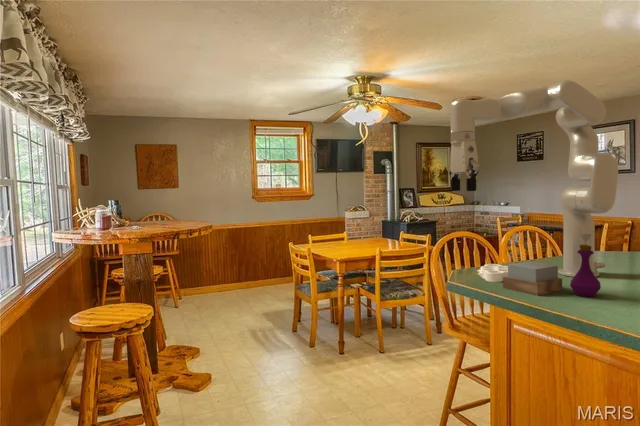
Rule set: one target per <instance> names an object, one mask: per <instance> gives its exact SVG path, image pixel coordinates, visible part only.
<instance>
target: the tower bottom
mask: <svg viewBox="0 0 640 426" xmlns="http://www.w3.org/2000/svg"><path fill="white" fill-rule="evenodd" d="M502 289H506V290H510V291H515V292H519V293H522V294H529V295H532V296H536V295H537V296H538V297H539V296H542V295H548V294H551V293H555V292H559V291H562V290H563V278H560V277H558V279H552V280H547V281H542V282H531V281H526V280H521V279H516V278H511V277H508V276H506V277H503V282H502Z"/></svg>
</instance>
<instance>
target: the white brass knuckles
mask: <svg viewBox="0 0 640 426" xmlns="http://www.w3.org/2000/svg"><path fill="white" fill-rule="evenodd" d="M476 272H478V273H477V275H478V276H480V278H481V277H482V278H481V279H484V280H485V281H486V282H492V283H503V282H502V281H503V277H506V276H508V265H502V264H497V263H486V264H484V265H482V266H480V269H478V270H476Z"/></svg>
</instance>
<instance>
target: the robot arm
mask: <svg viewBox="0 0 640 426" xmlns="http://www.w3.org/2000/svg"><path fill="white" fill-rule="evenodd" d="M449 108H450V109H449V110H450V112H449V113H450V144H451V146H450V155H449V157H450V161H449V163H450V165H448V167H447V169H448V172H449V173H448V174H449V179H450V191H451V192H458V191H461V179H460V176H461V174H465V175H466V177H467V178H466V179H465V181H466V182H465V183H466V184H465V185H466V187H465V188H466V192H475V191H476V192H477V178H478V174H479V168H480V163H479V161H478V160H479V157H478V148H477V144H476V141H475V140H476V137H475V135H476V131H475V129H476V126H479V125H483V124H488V123H493V122H498V121H503V120H511V119H517V118H521V117H523V118H524V117H527V116H531V115H532V116H533V115H536V114H541V113H546V112H550V111H551V112H552V111H554V110H557V112H556V114H555V120H556V123H557V125H558V126H559V127H560V128H561V130H563V131H564V132H565V133H566V135H567V136H568V139H569V144H570V145H569V153H568V155H569V156H568V166H567V175H568V177H569V178H570V179H571V180H572V181H575V182H590V185H586V184H585V185H584V184H583V185H580V184H579V185H571V186H568V187H566V188H565V189H563V191H562V192H561V195H560V201H559V202H560V207H561V212H562V219H563V221H562V222H563V225H562V226H563V236H562V237H563V241H562V243H563V250H562V251H563V252H562V253H563V254H562V255H563V259H562V261H563V262H562V264H563V267H562V268H558V275H559V274H560V275H562V276H565V277H566V276H567V277H572V278H573V277H574V276H575V275H576V274H577V272H578V271H579V269H580V267H581V262H582V258H581V255H580V254H579V253H577V251H578V250H580V245H585V241H584V240H583V239H582V238H581V235H580V234H591V237H590V238H589V239H588V240H587V241H586V245H589V246H591V251H593V252H594V254H591V256H590V258H589V264H590V268H591V271H592V272H593V274H594V275H595V277H596V278H597V277H599V276H600V272H599V271H598V269H604V268H606V262H604V261H603V262H597V261H595V230H596V228H595V221H594V218H593V216H592V214H593V215H594V214H598V215H600V214H602V215H603V214H605V213H608V212H609V211H611V210H612V208H613V207H614V205H615V203H616V202H615V201H616V197H617V196H616V195H617V189H618V188H617V187H618V179H619V178H618V177H619V164H618V162H617V160H616V158H615V157H614V156H613V155H612V154H610V153H608V152H599V138H598V137H599V136H598V134H597V133H596V131H595V129H594V128H593V127H592V126H595V125H597V124H598V125H599V124H600V123H601V122H602V121H603V120H604V119H605V118H606V116H607V115H606V114H607V109H606V106H605V104H604V102H603V101H602V99H600V98H598V97H597V96H596V95H594V94H593V93H592V92H591V91H589V90H587V89H586V88H585V87H584V86H582V85H581V84H579V83H577V82H575V81H573V80H569V79H566V80H562V81H559V82H556V83H553V84H549V85H544V86H539V87H535V88H531V89H525V90H520V91H516V92H515V91H514V92H512V93H510V94H507V95H504V96H500V97H497V98H482V99H473V100H472V99H457V100H454V101H453V102H451V103H450V107H449Z"/></svg>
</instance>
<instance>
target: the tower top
mask: <svg viewBox="0 0 640 426" xmlns="http://www.w3.org/2000/svg"><path fill="white" fill-rule="evenodd" d="M507 266H508V277H511V278H516V279H521V280H526V281H531V282H542V281H547V280H552V279H558V278H559V273H558V270H559V266H558V265H556V264H549V263H542V262H538V261H537V262H536V261H531V260H529V261H522V262H515V263H508V264H507Z"/></svg>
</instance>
